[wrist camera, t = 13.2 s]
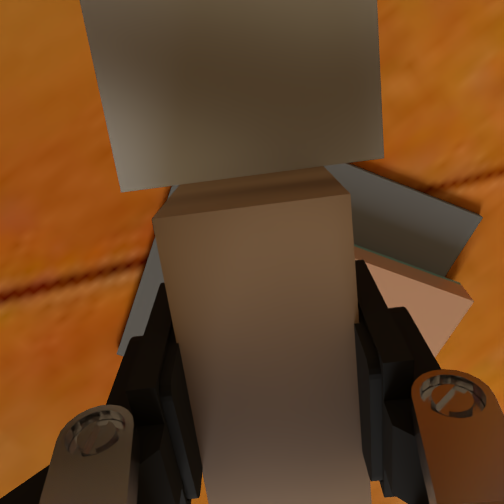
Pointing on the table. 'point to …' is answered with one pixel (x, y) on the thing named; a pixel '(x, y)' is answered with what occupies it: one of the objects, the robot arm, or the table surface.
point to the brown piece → (253, 220)
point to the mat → (360, 233)
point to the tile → (419, 295)
